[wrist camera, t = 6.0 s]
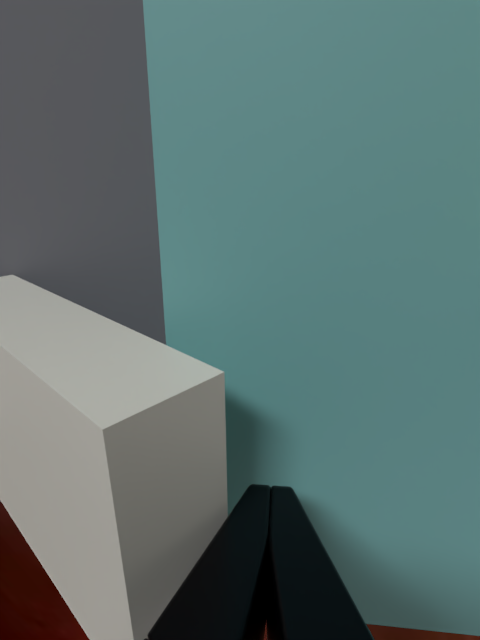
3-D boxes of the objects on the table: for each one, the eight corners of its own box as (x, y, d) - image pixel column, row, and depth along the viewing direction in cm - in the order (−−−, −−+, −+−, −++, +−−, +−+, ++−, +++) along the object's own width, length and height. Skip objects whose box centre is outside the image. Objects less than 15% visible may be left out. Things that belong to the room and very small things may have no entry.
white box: (224, 371, 6) (102, 429, 5) (230, 637, 8) (147, 728, 7) (12, 274, 12) (-69, 288, 11) (47, 443, 14) (-18, 473, 13)
